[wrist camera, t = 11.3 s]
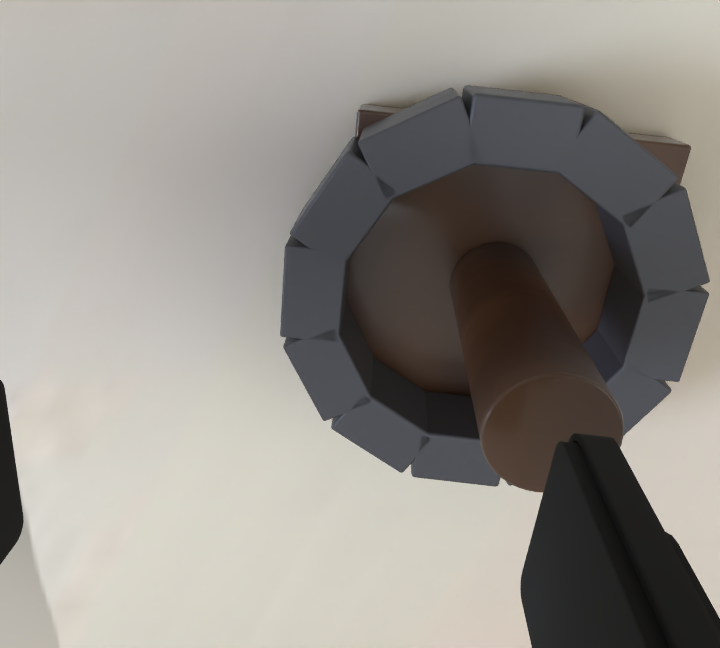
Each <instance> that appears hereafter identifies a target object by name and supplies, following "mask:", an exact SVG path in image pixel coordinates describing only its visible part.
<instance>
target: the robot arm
mask: <svg viewBox="0 0 720 648" xmlns="http://www.w3.org/2000/svg"><path fill="white" fill-rule="evenodd" d="M22 527H23V512H22V505H21V498H20V491H19V484H18V477H17V470H16V463H15V456H14V450H13V443H12V436H11V429H10V422H9V415H8V408H7V401H6V394H5V388H4V384H3V383H2V381H1V380H0V564H1V563H2V561H3V560H4V559H5V557H6V556H7V555H8V553H9V552H10V551H11V549H12V548H13V546H14V545H15V544H16V542H17V541H18V539H19V537H20V534H21V531H22ZM521 599H522V604H523V608H524V613H525V617H526V622H527V627H528V631H529V636H530V640H531V645H532V648H720V618H719V617H718V615H717V613H716V611H715V609H714V608H713V606H712V604H711V602H710V600H709V599H708V597H707V595H706V593H705V591H704V589H703V588H702V586H701V584H700V582H699V580H698V579H697V577H696V575H695V573H694V571H693V570H692V568H691V566H690V564H689V562H688V560H687V559H686V557H685V555H684V553H683V551H682V550H681V548H680V546H679V544H678V543H677V541H676V540H675V539H674V537H673V536H672V535H670V534H668V533H667V532H665V531H664V529H663V527H662V525H661V524H660V522H659V520H658V518H657V516H656V514H655V512H654V511H653V509H652V507H651V505H650V503H649V501H648V499H647V498H646V496H645V494H644V492H643V490H642V488H641V486H640V485H639V483H638V481H637V479H636V477H635V475H634V473H633V472H632V470H631V468H630V466H629V464H628V462H627V461H626V459H625V457H624V455H623V453H622V451H621V449H620V448H619V446H618V444H617V442H616V441H615V439H614V438H612V437H606V436H597V435H588V434H579V433H574V434H572V435H571V437H570V439H569V441H568V442H564V441H560V442H558V444H557V445H556V448H555V451H554V455H553V459H552V463H551V466H550V470H549V474H548V478H547V481H546V485H545V489H544V493H543V496H542V500H541V504H540V508H539V511H538V515H537V519H536V523H535V526H534V530H533V534H532V538H531V541H530V545H529V549H528V553H527V556H526V560H525V564H524V568H523V571H522V576H521Z"/></svg>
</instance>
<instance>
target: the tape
mask: <svg viewBox="0 0 720 648" xmlns="http://www.w3.org/2000/svg"><path fill="white" fill-rule="evenodd" d="M473 164H476V165H485V166H494V167H503V168H512V169H521V170H530V171H539V172H548V173H557V174H559V175H561V176H562V177H563V178H564V179H566V180H567V181H568V182H570V183H571V184H572V185H573V186H575V187H576V188H577V189H578V190H580V191H581V192H582V193H583V194H585V195H586V196H587V197H588V198H590V199H591V200H592V201H593V202H595V203H596V206H597V209H598V212H599V216H600V219H601V222H602V225H603V228H604V232H605V235H606V238H607V241H608V244H609V248H610V251H611V254H612V257H613V260H614V263H615V267H614V270H613V274H612V278H611V281H610V285H609V289H608V292H607V296H606V300H605V303H604V307H603V310H602V314H601V318H600V321H599V325H598V329H597V330H596V331H595V332H594V333H593V334H592V335H591V336H590V337H589V338H588V339H587V340H586V342H585V343H584V344H583V346H584V347H585V349H586V351H587V352H588V354H589V356H590V357H591V359H592V361H593V362H594V364H595V366H596V368H597V369H598V371H599V373H600V374H601V376H602V378H603V379H604V381H605V383H606V384H607V386H608V388H609V390H610V391H611V393H612V395H613V396H614V398H615V400H616V401H617V403H618V405H619V407H620V410H621V412H622V416H623V421H624V434H623V436H624V435H625V434H626V433H627V432H628V431H629V430H630V429H631V428H632V427H634V426H635V425H636V424H637V423H638V422H639V421H640V420H641V419H642V418H643V417H644V416H646V415H647V414H648V413H649V412H650V411H651V410H652V409H653V408H654V407H655V406H656V405H658V404H659V403H660V402H661V401H662V400H663V399H664V398H665V397H666V396H667V395H668V394H670V393H671V389H670V387H669V386H668V385H667V383H666V382H665V381H674V382H679V380H680V377H681V374H682V372H683V369H684V366H685V363H686V360H687V357H688V354H689V351H690V348H691V345H692V342H693V340H694V337H695V334H696V331H697V328H698V325H699V322H700V319H701V316H702V313H703V310H704V308H705V305H706V302H707V299H708V296H709V293H708V292H707V291H706V290H705V289H704V288H702V287H701V286H700V285H703V284H706V283H708V282H709V276H708V272H707V268H706V264H705V261H704V257H703V253H702V249H701V245H700V241H699V237H698V233H697V230H696V226H695V222H694V218H693V214H692V210H691V206H690V202H689V199H688V195H687V191H686V189H685V188H684V187H682V186H680V185H678V184H677V183H675V182H676V181H677V180H678V176H677V175H676V174H675V173H674V172H672V171H671V170H670V169H669V168H668V167H666V166H665V165H664V164H663V163H662V162H660V161H659V160H658V159H657V158H656V157H654V156H653V155H652V154H651V153H650V152H648V151H647V150H646V149H645V148H644V147H642V146H641V145H640V144H639V143H638V142H636V141H635V140H634V139H633V138H632V137H630V136H629V135H628V134H627V133H626V132H624V131H623V130H622V129H621V128H620V127H618V126H617V125H616V124H615V123H614V122H612V121H611V120H610V119H609V118H608V117H606V116H605V115H604V114H603V113H602V112H600V111H598V110H595V109H593V108H590V107H588V106H585V105H583V104H580V103H577V102H575V101H572V100H570V99H567V98H565V97H562V96H559V95H550V94H541V93H532V92H523V91H514V90H505V89H496V88H486V87H477V86H468V85H467V86H465V87H464V89H463V94H462V97H461V96H460V95H459V94H458V93H457V92H456V91H455V90H454V89H453V88H449V89H447V90H445V91H443V92H440V93H438V94H436V95H434V96H432V97H430V98H427V99H425V100H423V101H421V102H419V103H417V104H414V105H412V106H410V107H408V108H406V109H403V110H401V111H399V112H397V113H395V114H393V115H390V116H388V117H386V118H384V119H382V120H380V121H377V122H375V123H373V124H371V125H369V126H367V127H365V128H364V129H363V131H362V134H361V137H360V139H358V138H357V137H353V138H352V139H351V141H350V142H349V143H348V145H347V146H346V148H345V149H344V151H343V152H342V154H341V155H340V156H339V158H338V159H337V161H336V162H335V164H334V165H333V166H332V168H331V169H330V171H329V172H328V174H327V175H326V177H325V178H324V179H323V181H322V182H321V184H320V185H319V187H318V188H317V189H316V191H315V192H314V194H313V195H312V197H311V198H310V200H309V201H308V202H307V204H306V205H305V207H304V208H303V210H302V212H301V213H300V215H299V217H298V219H297V221H296V223H295V224H294V226H293V228H292V230H291V233H290V234H291V237H290V238H289V240H288V242H287V244H286V246H285V257H284V275H283V294H282V312H281V330H280V335H281V336H282V337H287V338H286V340H285V343H284V346H283V348H284V350H285V351H286V353H287V355H288V357H289V359H290V361H291V362H292V364H293V366H294V368H295V370H296V372H297V373H298V375H299V377H300V379H301V381H302V383H303V384H304V386H305V388H306V390H307V392H308V394H309V395H310V397H311V399H312V401H313V403H314V405H315V406H316V408H317V410H318V412H319V414H320V416H321V417H322V419H323V420H324V421H326V420H328V419H331V418H333V420H332V426H331V428H332V429H333V430H334V431H336V432H338V433H339V434H341V435H342V436H344V437H345V438H347V439H349V440H350V441H352V442H353V443H355V444H356V445H358V446H360V447H361V448H363V449H364V450H366V451H367V452H369V453H371V454H372V455H374V456H375V457H377V458H379V459H380V460H382V461H383V462H385V463H386V464H388V465H390V466H391V467H393V468H394V469H396V470H397V471H399V472H404V471H405V469H406V468H407V467H408V466H409V465H410V464H411V474H412V476H413V477H418V478H427V479H435V480H444V481H453V482H461V483H470V484H479V485H487V486H498V484H499V481H500V476H499V475H498V474H497V473H496V472H495V471H494V470H493V469H492V468H491V467H490V465H489V464H488V462H487V460H486V459H485V457H484V454H483V451H482V447H481V442H480V437H479V432H478V427H477V422H476V417H475V412H474V407H473V402H472V397H471V396H463V395H454V394H445V393H437V392H428V391H424V390H422V389H421V388H419V387H418V386H416V385H415V384H413V383H412V382H410V381H409V380H407V379H406V378H404V377H403V376H401V375H400V374H398V373H397V372H395V371H394V370H392V369H391V368H390V367H388V366H387V365H385V364H384V363H382V362H381V361H379V360H378V359H376V358H375V357H374V356H373V354H372V352H371V350H370V348H369V346H368V344H367V342H366V340H365V338H364V336H363V334H362V332H361V330H360V328H359V326H358V324H357V322H356V320H355V318H354V315H353V313H352V311H351V309H350V307H349V305H348V303H347V301H346V299H347V289H348V278H349V268H350V258H351V255H352V254H353V253H354V251H355V250H356V249H357V247H358V246H359V245H360V243H361V242H362V241H363V239H364V238H365V237H366V235H367V234H368V233H369V231H370V230H371V229H372V227H373V226H374V225H375V223H376V222H377V221H378V220H379V218H380V217H381V216H382V214H383V213H384V212H385V210H386V209H387V208H388V206H389V205H390V204H391V202H392V201H393V200H394V198H397V197H399V196H401V195H404V194H406V193H408V192H410V191H413V190H415V189H417V188H420V187H422V186H424V185H427V184H429V183H431V182H434V181H436V180H438V179H441V178H443V177H445V176H448V175H450V174H452V173H455V172H457V171H459V170H462V169H464V168H466V167H469V166H471V165H473ZM664 380H665V381H664ZM506 482H507V481H506ZM507 484H508V485H512V484H510V483H509V482H507Z"/></svg>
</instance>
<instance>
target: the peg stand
mask: <svg viewBox="0 0 720 648" xmlns="http://www.w3.org/2000/svg"><path fill="white" fill-rule="evenodd" d="M401 110H403V108H394V107H385V106H376V105H367V104H363V105H361V106H360V108H359V110H358V113H357V123H356V134H355V137H357V138H358V139H360V137H361V134H362V131H363V129H364V128H365V127H367V126H369V125H371V124H373V123H375V122H377V121H380V120H382V119H384V118H386V117H388V116H390V115H393V114H395V113H397V112H399V111H401ZM627 134H628V135H629V136H630V137H632V138H633V139H634V140H635V141H636V142H638V143H639V144H640V145H641V146H642V147H644V148H645V149H646V150H647V151H648V152H650V153H651V154H652V155H653V156H654V157H656V158H657V159H658V160H659V161H660V162H662V163H663V164H664V165H665V166H666V167H668V168H669V169H670V170H671V171H672V172H674V173H675V174H676V175H677V176H678V180H677V181H676V182H675V183H677V184H678V185H680V183H681V180H682V176H683V173H684V170H685V166H686V163H687V160H688V156H689V153H690V150H691V146H690V145H688V144H685V143H682V142H680V141H677V140H675V139H672V138H669V137H660V136H650V135H641V134H632V133H627ZM614 267H615V263H614V260H613V257H612V254H611V251H610V248H609V244H608V241H607V238H606V235H605V232H604V228H603V225H602V222H601V219H600V216H599V212H598V209H597V206H596V203H595V202H593V201H592V200H591V199H590V198H588V197H587V196H586V195H585V194H583V193H582V192H581V191H580V190H578V189H577V188H576V187H575V186H573V185H572V184H571V183H570V182H568V181H567V180H566V179H564V178H563V177H562V176H561V175H559V174H557V173H548V172H539V171H530V170H521V169H512V168H503V167H494V166H485V165H476V164H473V165H471V166H469V167H466V168H464V169H462V170H459V171H457V172H455V173H452V174H450V175H448V176H445V177H443V178H441V179H438V180H436V181H434V182H431V183H429V184H427V185H424V186H422V187H420V188H417V189H415V190H413V191H410V192H408V193H406V194H404V195H401V196H399V197H397V198H394V200H393V201H392V202H391V204H390V205H389V206H388V208H387V209H386V210H385V212H384V213H383V214H382V216H381V217H380V218H379V220H378V221H377V222H376V223H375V225H374V226H373V227H372V229H371V230H370V231H369V233H368V234H367V235H366V237H365V238H364V239H363V241H362V242H361V243H360V245H359V246H358V247H357V249H356V250H355V251H354V253H353V254H352V255H351V258H350V268H349V278H348V289H347V299H346V301H347V303H348V305H349V307H350V309H351V311H352V313H353V315H354V318H355V320H356V322H357V324H358V326H359V328H360V330H361V332H362V334H363V336H364V338H365V340H366V342H367V344H368V346H369V348H370V350H371V352H372V354H373V356H374V357H375V358H376V359H378V360H379V361H381V362H382V363H384V364H385V365H387V366H388V367H390V368H391V369H392V370H394V371H395V372H397V373H398V374H400V375H401V376H403V377H404V378H406V379H407V380H409V381H410V382H412V383H413V384H415V385H416V386H418V387H419V388H421V389H422V390H424V391H428V392H437V393H445V394H454V395H463V396H471V397H472V402H473V407H474V412H475V417H476V422H477V427H478V432H479V437H480V442H481V447H482V451H483V454H484V457H485V459H486V460H487V462H488V464H489V465H490V467H491V468H492V469H493V470H494V471H495V472H496V473H497V474H498V475H499V476H500V477H501V478H503V479H504V480H505V481H507V482H509V483H510V484H512V485H514V486H517V487H519V488H522V489H525V490H529V491H534V492H544V489H545V485H546V481H547V478H548V474H549V470H550V466H551V463H552V459H553V455H554V451H555V448H556V445H557V444H558V442H560V441H564V442H568V441H569V439H570V437H571V435H572V434H574V433H579V434H588V435H597V436H606V437H612V438H614V439H615V441H616V442H617V444H618V446H619V448H620V446H621V444H622V439H623V434H624V421H623V416H622V412H621V410H620V407H619V405H618V403H617V401H616V400H615V398H614V396H613V395H612V393H611V391H610V390H609V388H608V386H607V384H606V383H605V381H604V379H603V378H602V376H601V374H600V373H599V371H598V369H597V368H596V366H595V364H594V362H593V361H592V359H591V357H590V356H589V354H588V352H587V351H586V349H585V347H584V346H583V344H584V343H585V342H586V340H587V339H588V338H589V337H590V336H591V335H592V334H593V333H594V332H595V331H596V330H597V329H598V325H599V321H600V318H601V314H602V310H603V307H604V303H605V300H606V296H607V292H608V289H609V285H610V281H611V278H612V274H613V270H614Z"/></svg>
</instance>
